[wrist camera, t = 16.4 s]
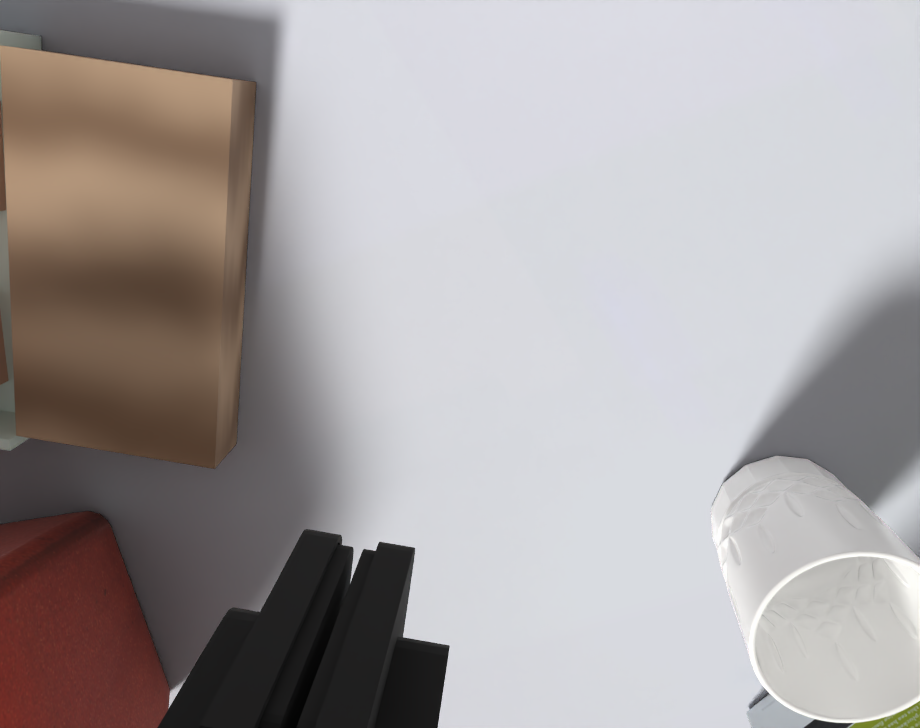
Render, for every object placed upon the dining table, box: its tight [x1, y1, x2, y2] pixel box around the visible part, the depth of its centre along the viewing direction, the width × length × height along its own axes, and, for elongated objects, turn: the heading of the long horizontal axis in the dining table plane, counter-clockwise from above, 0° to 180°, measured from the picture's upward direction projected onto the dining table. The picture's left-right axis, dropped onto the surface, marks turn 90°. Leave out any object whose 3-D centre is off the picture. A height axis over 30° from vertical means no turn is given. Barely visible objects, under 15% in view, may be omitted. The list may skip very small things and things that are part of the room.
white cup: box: [711, 456, 920, 723], centre depth 35 cm, size 8×8×10 cm
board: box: [0, 45, 256, 469], centre depth 37 cm, size 18×10×3 cm, turn 172°
